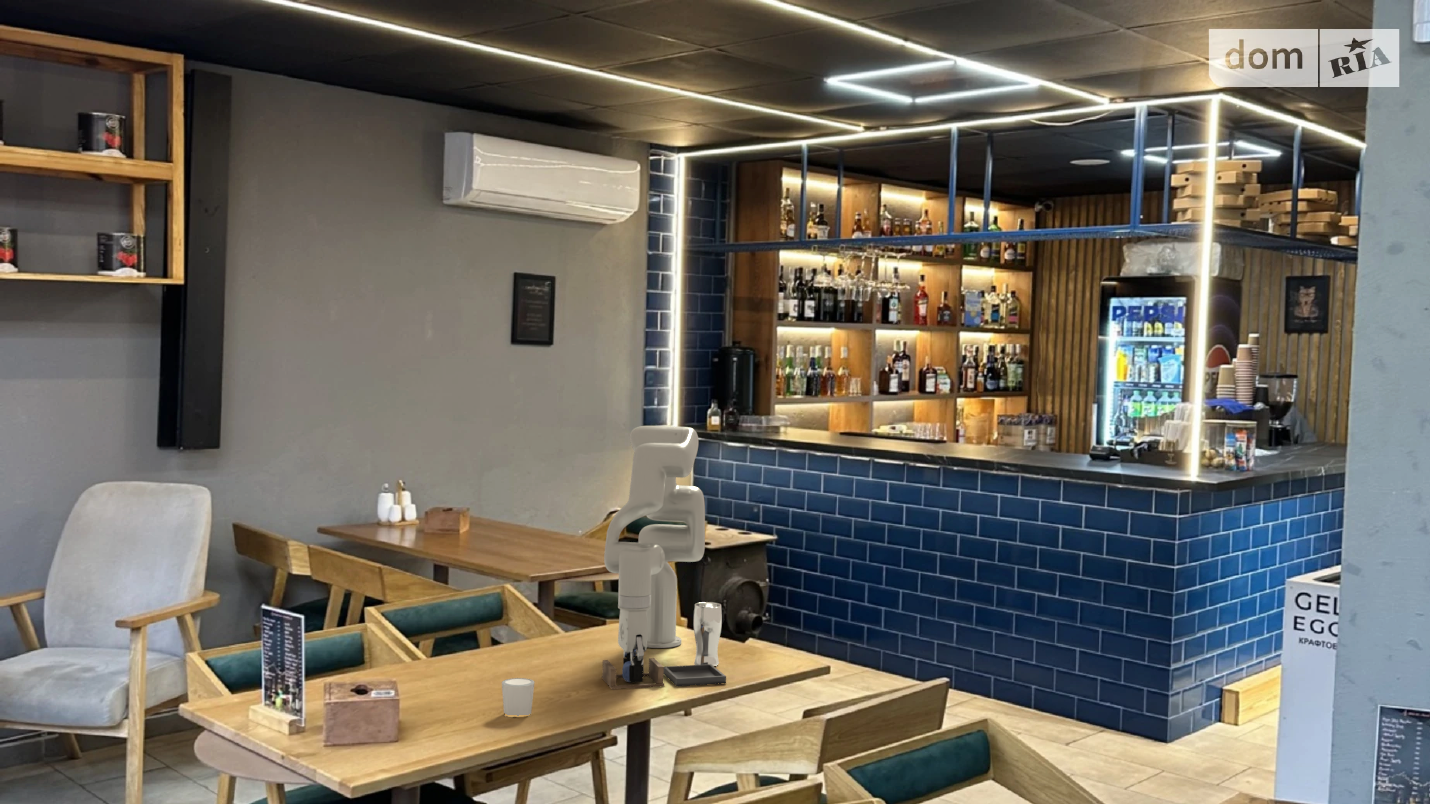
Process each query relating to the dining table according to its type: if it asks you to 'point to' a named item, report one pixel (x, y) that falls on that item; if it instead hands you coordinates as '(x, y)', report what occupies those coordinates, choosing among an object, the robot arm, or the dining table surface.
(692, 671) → the tray
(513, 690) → the white cup
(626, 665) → the decorative dice
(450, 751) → the dining table surface
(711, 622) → the beer glass
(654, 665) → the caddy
